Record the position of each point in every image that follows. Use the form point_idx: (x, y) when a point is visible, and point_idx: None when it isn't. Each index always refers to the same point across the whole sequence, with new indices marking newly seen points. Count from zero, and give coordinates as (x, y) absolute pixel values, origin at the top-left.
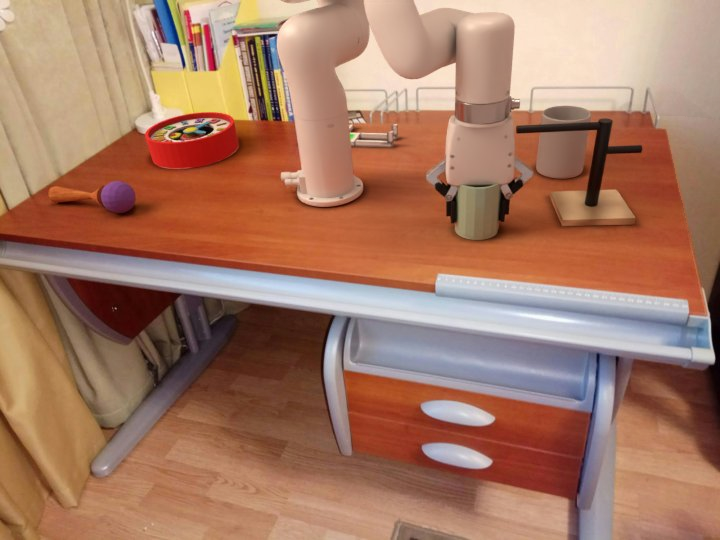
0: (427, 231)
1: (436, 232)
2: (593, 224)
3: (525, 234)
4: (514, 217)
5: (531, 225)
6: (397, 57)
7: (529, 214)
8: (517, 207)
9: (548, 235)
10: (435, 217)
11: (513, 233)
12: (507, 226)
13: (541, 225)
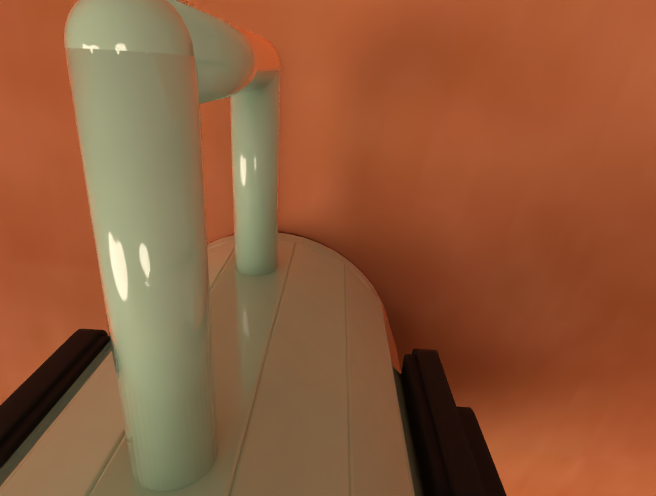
0: (4, 333)
1: (56, 347)
2: None
3: (513, 409)
4: (523, 239)
5: (582, 336)
6: None
7: (633, 213)
8: (599, 102)
9: (620, 428)
10: (19, 182)
11: (457, 396)
12: (448, 331)
13: (636, 341)
